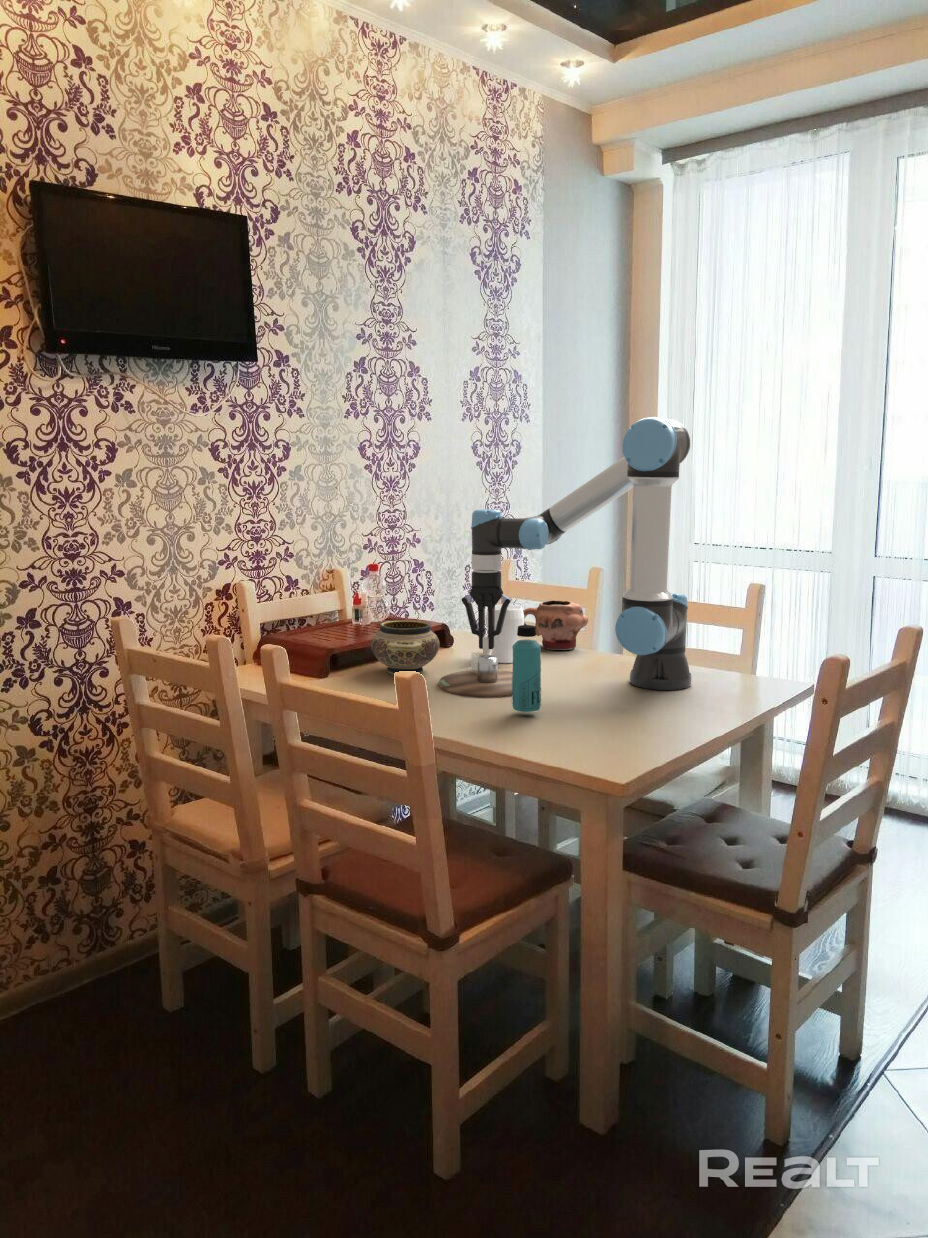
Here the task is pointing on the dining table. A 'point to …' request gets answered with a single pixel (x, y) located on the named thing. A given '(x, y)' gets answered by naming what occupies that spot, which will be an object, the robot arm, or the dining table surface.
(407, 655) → the ceramic bowl
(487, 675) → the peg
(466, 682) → the round wooden board
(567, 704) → the dining table surface
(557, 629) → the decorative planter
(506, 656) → the cup
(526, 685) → the beverage bottle
